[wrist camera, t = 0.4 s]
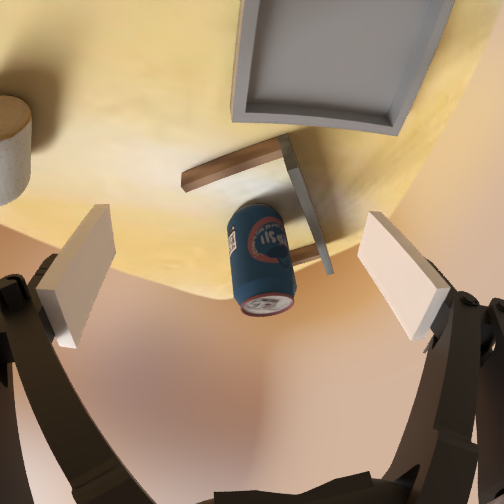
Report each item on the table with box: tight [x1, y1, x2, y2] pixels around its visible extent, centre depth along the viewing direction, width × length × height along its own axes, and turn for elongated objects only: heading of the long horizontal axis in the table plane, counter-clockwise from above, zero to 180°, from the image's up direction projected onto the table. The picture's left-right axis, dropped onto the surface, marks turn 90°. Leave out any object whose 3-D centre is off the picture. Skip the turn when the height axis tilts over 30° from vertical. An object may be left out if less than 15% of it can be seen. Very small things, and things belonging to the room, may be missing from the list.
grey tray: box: [230, 0, 455, 136], centre depth 20 cm, size 16×16×2 cm
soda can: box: [227, 204, 297, 317], centre depth 36 cm, size 7×7×12 cm
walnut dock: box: [181, 134, 334, 275], centre depth 38 cm, size 12×22×5 cm, turn 21°
